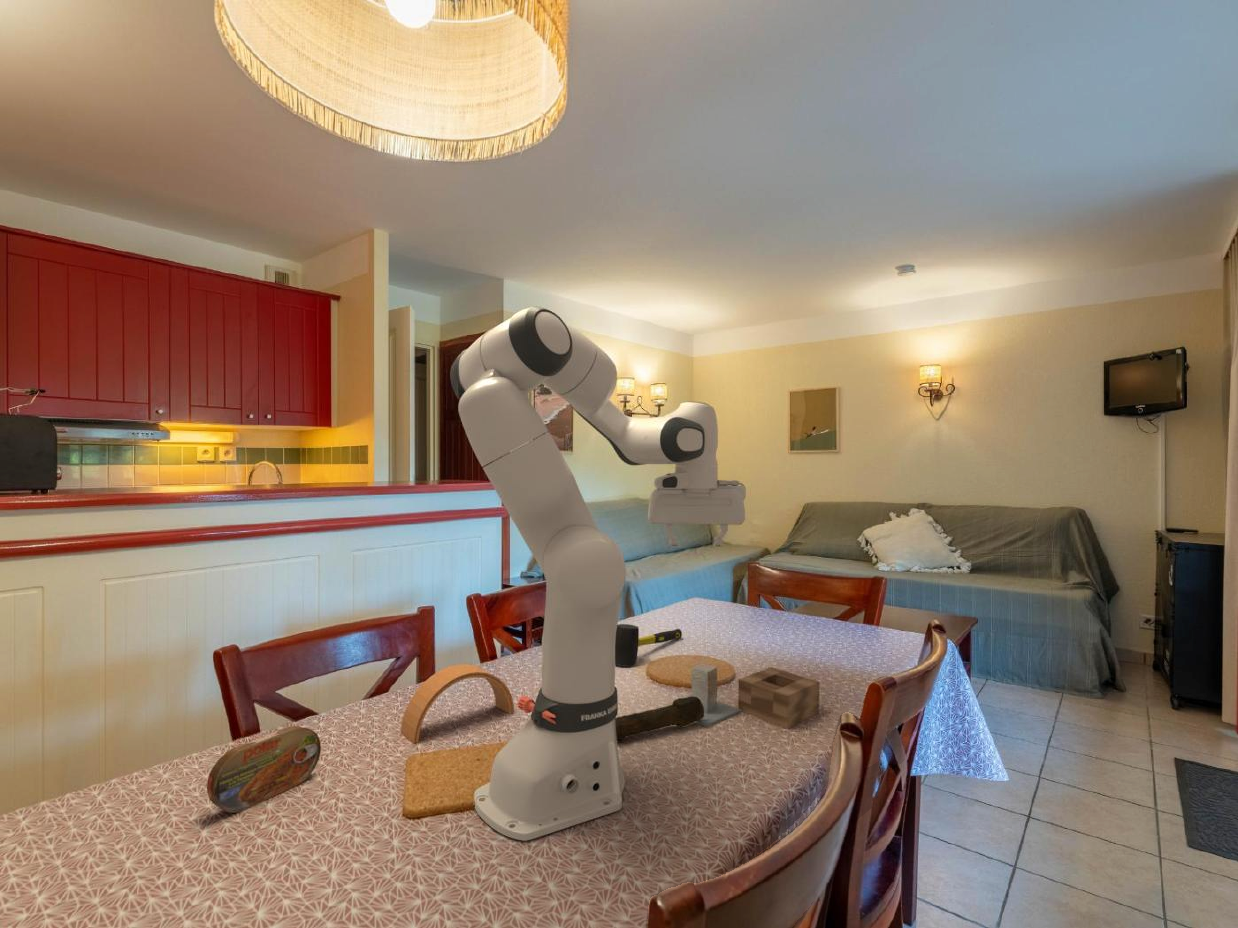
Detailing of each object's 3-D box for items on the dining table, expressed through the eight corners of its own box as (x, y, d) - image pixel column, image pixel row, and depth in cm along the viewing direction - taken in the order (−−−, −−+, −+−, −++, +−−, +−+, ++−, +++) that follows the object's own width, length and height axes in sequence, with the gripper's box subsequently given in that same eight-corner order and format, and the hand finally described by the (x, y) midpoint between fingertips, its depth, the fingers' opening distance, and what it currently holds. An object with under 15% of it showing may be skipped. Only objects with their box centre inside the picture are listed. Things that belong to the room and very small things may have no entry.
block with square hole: (786, 728, 109) (787, 696, 109) (738, 709, 118) (738, 679, 118) (818, 712, 117) (819, 681, 117) (770, 695, 125) (771, 666, 125)
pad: (707, 726, 110) (707, 723, 110) (668, 709, 117) (668, 706, 117) (740, 712, 117) (740, 709, 117) (701, 696, 124) (701, 694, 124)
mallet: (669, 637, 167) (669, 602, 167) (688, 641, 163) (688, 606, 163) (607, 665, 143) (607, 625, 143) (628, 671, 140) (628, 630, 139)
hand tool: (615, 746, 102) (614, 719, 102) (606, 735, 106) (606, 709, 106) (711, 725, 109) (711, 700, 109) (700, 716, 113) (700, 692, 113)
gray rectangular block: (707, 713, 114) (707, 672, 114) (691, 708, 117) (691, 667, 117) (716, 707, 117) (717, 667, 117) (700, 703, 119) (701, 663, 119)
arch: (400, 733, 107) (400, 677, 107) (499, 704, 120) (500, 654, 120) (413, 745, 102) (413, 686, 102) (514, 713, 115) (515, 661, 115)
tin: (214, 824, 79) (214, 761, 79) (203, 817, 81) (203, 755, 81) (322, 774, 92) (322, 720, 92) (310, 769, 94) (310, 715, 94)
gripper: (742, 480, 129) (741, 544, 129) (647, 479, 128) (647, 543, 129) (749, 480, 122) (748, 548, 122) (649, 480, 122) (648, 547, 122)
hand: (695, 545), depth 125 cm, fingers open, 8 cm apart
